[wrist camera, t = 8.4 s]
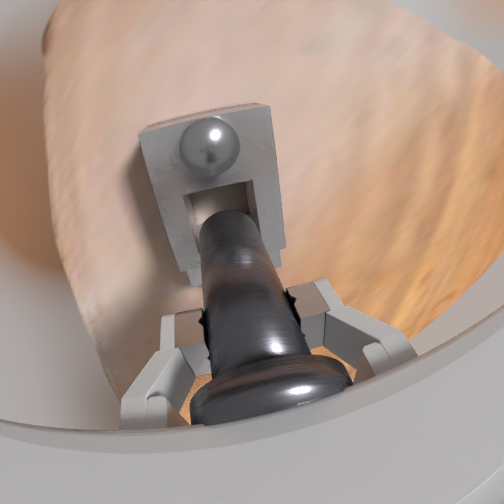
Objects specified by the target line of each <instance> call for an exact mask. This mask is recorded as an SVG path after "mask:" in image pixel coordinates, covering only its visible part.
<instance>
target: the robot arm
mask: <svg viewBox="0 0 504 504" xmlns="http://www.w3.org/2000/svg"><path fill="white" fill-rule="evenodd" d="M285 292H286V296H287V298H288V300H289V303H290V305H291V307H292V310H293V312H294V314H295V317H296V319H297V321H298V324H299V326H300V328H301V331H302V333H303V335H304V338H305V340H306V342H307V345H308V347H309V349H313V348H316V347H320V346H324V347H325V348H326V349H328V350H329V351H331V352H332V353H334V354H335V355H336V356H338V357H339V358H341V359H342V360H343V361H345V362H346V363H348V364H349V365H351V366H352V367H354V368H355V369H356V370H357V372H356V375H355V378H354V381H353V384H354V385H352V386H349V387H346V388H345V390H344V391H342V392H340V393H337V394H334V395H331V396H328V397H325V398H322V399H319V400H316V401H313V402H309V403H306V404H303V405H299V406H296V407H292V408H289V409H285V410H281V411H277V412H273V413H269V414H265V415H261V416H256V417H252V418H247V419H242V420H237V421H232V422H226V423H221V424H215V425H208V426H204V425H203V424H197V425H190V424H189V423H188V422H187V421H186V420H185V419H184V418H183V417H182V416H181V415H180V414H179V411H180V409H181V407H182V405H183V403H184V401H185V399H186V397H187V395H188V393H189V391H190V389H191V387H192V385H193V383H194V380H195V378H196V377H195V376H200V375H205V374H210V373H211V366H210V358H209V349H208V340H207V331H206V321H205V313H204V310H203V309H202V308H200V309H195V310H189V311H184V312H178V313H175V314H169V315H163V316H162V318H161V327H160V348H159V351H156V352H155V353H154V354H153V356H152V357H151V358H150V360H149V361H148V363H147V364H146V365H145V367H144V368H143V369H142V371H141V372H140V374H139V375H138V376H137V378H136V379H135V380H134V382H133V383H132V385H131V386H130V387H129V389H128V390H127V392H126V393H125V394H124V396H123V397H122V400H121V414H120V430H79V429H65V428H54V427H45V426H37V425H30V424H23V423H18V422H12V421H7V420H2V419H0V504H504V305H502V306H501V307H500V308H498V309H497V310H496V311H494V312H492V313H491V314H490V315H488V316H487V317H485V318H484V319H482V320H481V321H479V322H478V323H476V324H474V325H473V326H472V327H470V328H468V329H467V330H465V331H463V332H462V333H460V334H458V335H457V336H455V337H453V338H452V339H450V340H448V341H446V342H445V343H443V344H441V345H439V346H437V347H436V348H434V349H432V350H430V351H428V352H426V353H424V354H422V355H420V356H418V355H417V353H416V352H415V350H414V349H413V347H412V346H411V344H410V343H409V341H408V340H407V338H406V337H405V335H404V334H403V333H402V331H401V330H399V329H396V328H394V327H392V326H390V325H388V324H386V323H384V322H382V321H380V320H377V319H375V318H373V317H371V316H369V315H367V314H365V313H363V312H361V311H358V310H356V309H354V308H352V307H350V306H345V307H344V305H343V304H342V302H341V300H340V299H339V297H338V296H337V294H336V292H335V291H334V289H333V288H332V286H331V285H330V283H329V281H328V280H327V279H326V278H322V279H318V280H315V281H312V282H308V283H304V284H300V285H297V286H293V287H289V288H286V291H285Z"/></svg>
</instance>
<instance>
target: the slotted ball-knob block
mask: <svg viewBox="0 0 504 504" xmlns="http://www.w3.org/2000/svg"><path fill="white" fill-rule="evenodd" d="M138 137H139V141H140V145H141V148H142V152H143V156H144V160H145V163H146V167H147V171H148V174H149V178H150V181H151V184H152V188H153V191H154V195H155V198H156V201H157V204H158V208H159V211H160V214H161V217H162V220H163V223H164V226H165V229H166V232H167V235H168V238H169V241H170V244H171V247H172V250H173V253H174V256H175V259H176V262H177V264H178V267H179V270H180V272H183V271H186V272H187V275H188V278H189V280H190V283H191V286H192V287H195V286H200V285H202V277H201V264H200V250H199V232H200V229H201V227H202V225H203V224H200V225H197V222H196V219H195V215H194V211H193V207H192V203H191V200H190V196H189V194H190V193H194V192H198V191H203V190H207V189H211V188H216V187H220V186H225V185H230V184H234V183H239V182H244V181H245V187H246V193H247V199H248V205H249V211H250V213H248V214H246V215H248V216H249V217H250V218H251V219H252V220H253V221H254V223H255V225H256V227H257V229H258V231H259V234H260V236H261V238H262V240H263V243H264V245H265V247H266V250H267V252H268V254H269V256H270V259H271V261H272V263H273V266H274V268H277V267H281V259H280V249H283V248H286V243H285V232H284V222H283V212H282V202H281V193H280V184H279V175H278V166H277V158H276V149H275V141H274V133H273V126H272V118H271V111H270V106H268V105H263V104H258V103H250V104H243V105H237V106H231V107H225V108H220V109H215V110H210V111H205V112H200V113H196V114H191V115H187V116H183V117H179V118H175V119H171V120H167V121H163V122H159V123H156V124H152V125H149V126H148V127H147V128H145V129H144V130H143V131H141V132H140V133H139V134H138Z"/></svg>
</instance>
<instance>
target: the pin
mask: <svg viewBox="0 0 504 504" xmlns="http://www.w3.org/2000/svg"><path fill="white" fill-rule="evenodd" d="M199 250H200V264H201V277H202V289H203V301H204V312H205V321H206V331H207V340H208V349H209V358H210V366H211V374H212V380H211V381H210V382H208V383H206V384H205V385H204V386H203V387H201V388H200V389H199V390H198V391H197V392H196V393H195V394H194V396H193V398H192V399H191V402H190V418H191V425H197V424H203V425H204V426H208V425H215V424H221V423H226V422H232V421H237V420H242V419H247V418H252V417H256V416H261V415H265V414H269V413H273V412H277V411H281V410H285V409H289V408H292V407H296V406H299V405H303V404H306V403H309V402H313V401H316V400H319V399H322V398H325V397H328V396H331V395H334V394H337V393H340V392H342V391H344V390H345V388H346V387H349V386H352V385H354V384H353V382H352V380H351V378H350V376H349V374H348V372H347V370H346V368H345V366H344V365H343V364H342V363H341V362H340V361H338V360H336V359H334V358H331V357H327V356H322V355H312V354H311V352H310V350H309V347H308V345H307V342H306V340H305V338H304V335H303V333H302V331H301V328H300V326H299V324H298V321H297V319H296V317H295V314H294V312H293V310H292V307H291V305H290V303H289V300H288V298H287V296H286V293H285V291H284V289H283V286H282V284H281V282H280V279H279V277H278V275H277V272H276V270H275V268H274V266H273V263H272V261H271V259H270V256H269V254H268V252H267V250H266V247H265V245H264V243H263V240H262V238H261V236H260V234H259V231H258V229H257V227H256V225H255V223H254V221H253V220H252V219H251V218H250V217H249V216H248V215H246V214H245V213H243V212H240V211H236V210H225V211H220V212H217V213H215V214H213V215H212V216H210V217H209V218H208V219H207V220H206V221H205V222H204V223H203V225H202V227H201V229H200V232H199Z"/></svg>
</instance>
